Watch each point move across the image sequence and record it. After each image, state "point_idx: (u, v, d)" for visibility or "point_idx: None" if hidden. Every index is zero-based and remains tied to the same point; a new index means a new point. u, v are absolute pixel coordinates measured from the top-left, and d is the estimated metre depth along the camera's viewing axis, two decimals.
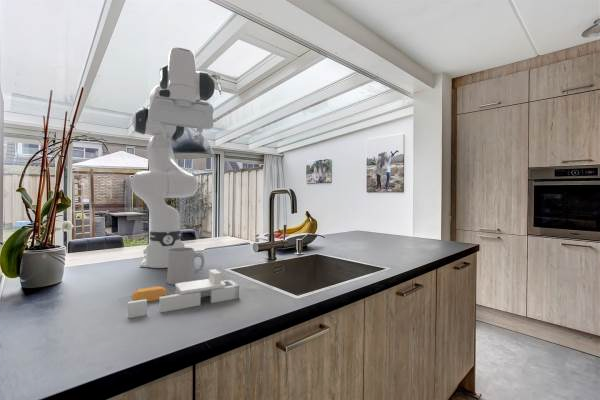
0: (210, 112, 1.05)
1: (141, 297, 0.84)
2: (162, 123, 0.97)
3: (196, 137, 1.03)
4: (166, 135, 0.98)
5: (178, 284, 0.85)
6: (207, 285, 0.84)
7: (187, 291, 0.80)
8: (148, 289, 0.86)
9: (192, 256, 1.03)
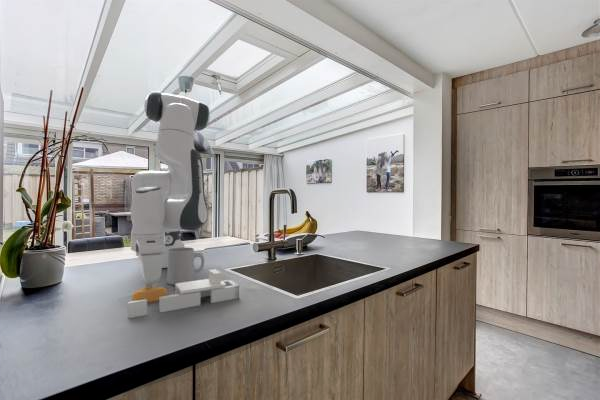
0: None
1: (141, 297, 0.83)
2: None
3: None
4: None
5: (178, 284, 0.85)
6: (207, 285, 0.84)
7: (187, 291, 0.80)
8: (148, 289, 0.85)
9: (192, 256, 1.03)
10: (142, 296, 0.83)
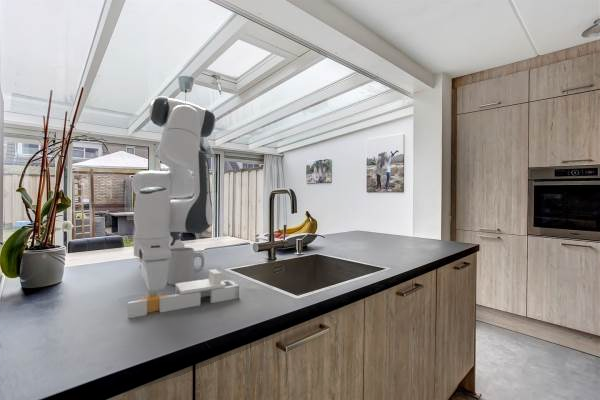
0: None
1: None
2: None
3: None
4: None
5: (178, 284, 0.85)
6: (207, 285, 0.84)
7: (187, 291, 0.80)
8: (152, 298, 0.79)
9: (192, 256, 1.03)
10: None
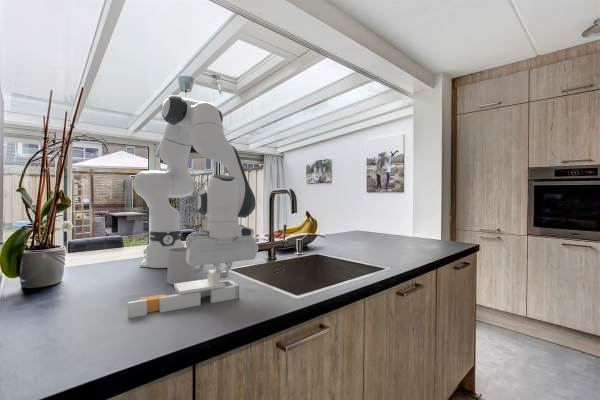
0: None
1: None
2: None
3: None
4: None
5: (177, 284, 0.85)
6: (206, 285, 0.84)
7: (186, 291, 0.80)
8: (152, 298, 0.78)
9: None
10: None
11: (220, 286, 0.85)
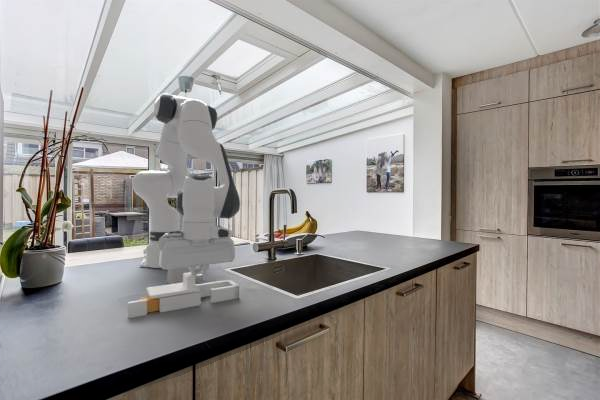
0: None
1: None
2: None
3: None
4: None
5: (149, 288, 0.81)
6: (179, 289, 0.80)
7: (157, 296, 0.76)
8: None
9: None
10: None
11: (195, 290, 0.81)
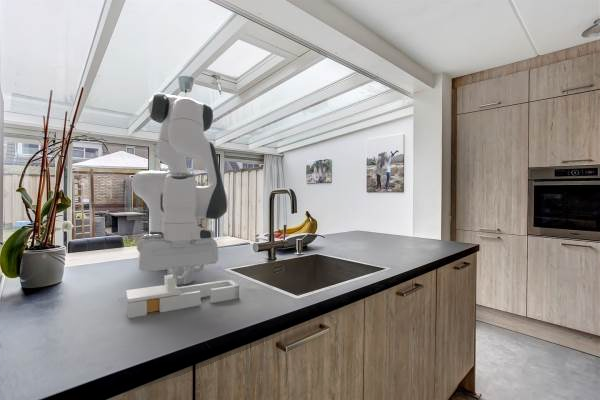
0: None
1: None
2: None
3: None
4: None
5: (128, 291, 0.78)
6: (160, 292, 0.78)
7: (135, 299, 0.74)
8: None
9: None
10: None
11: (175, 293, 0.79)
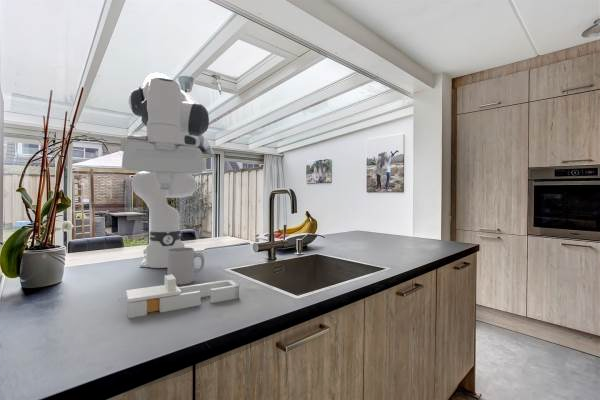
0: None
1: None
2: None
3: None
4: None
5: (129, 291, 0.78)
6: (160, 292, 0.78)
7: (135, 299, 0.74)
8: None
9: (192, 256, 1.03)
10: None
11: (175, 293, 0.79)
